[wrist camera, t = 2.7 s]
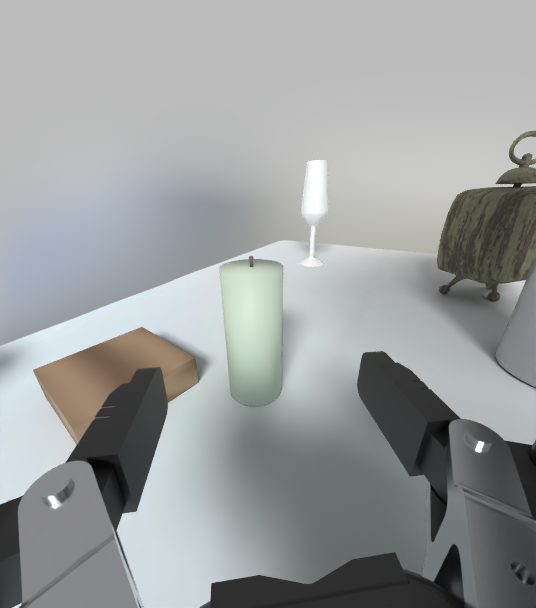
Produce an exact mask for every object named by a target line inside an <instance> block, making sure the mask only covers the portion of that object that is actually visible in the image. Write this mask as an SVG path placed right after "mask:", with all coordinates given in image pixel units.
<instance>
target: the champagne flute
mask: <svg viewBox="0 0 536 608" xmlns="http://www.w3.org/2000/svg"><path fill="white" fill-rule="evenodd" d="M327 214H328V161H325V160H314V161H307V164H306V173H305V180H304V188H303V196H302V204H301V215H302V217H303V219H304V220H305V221H306V222H307V223H308V224H309V225H310V226H311V237H310V254H309V257H308V258H306V259H304V260H303V261H301V262H299V265H301V266H306V267H319V266H323V265H324V264H323V263H322V262H321V261H319V260H318V259H316V258H315V257H314V245H315V229H316V226H317V225H318V224H319V223H320V222H321V221H323V220H324V218H325V217H326V216H327Z"/></svg>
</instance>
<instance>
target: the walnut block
mask: <svg viewBox="0 0 536 608" xmlns="http://www.w3.org/2000/svg"><path fill="white" fill-rule="evenodd" d="M152 367H160V368H161V370H162V374H163V379H164V384H165V389H166V394H167V399H168V402H170V401H171V400H173V399H174V398H176V397H177V396H179V395H180V394H182V393H183V392H185V391H186V390H188V389H189V388H191V387H192V386H194V385H195V384H197V383H198V375H197V368H196V362H195V357H194V356H192V355H190V354H188V353H187V352H185V351H183V350H181V349H180V348H178V347H176V346H174V345H173V344H171V343H169V342H167V341H166V340H164V339H162V338H160V337H159V336H157V335H155V334H153V333H152V332H150V331H148V330H146V329H145V328H143V327H141V328H138V329H136V330H133V331H130V332H128V333H125V334H123V335H120V336H118V337H115V338H113V339H110V340H108V341H105V342H103V343H100V344H98V345H95V346H92V347H90V348H87V349H85V350H82V351H80V352H77V353H75V354H72V355H70V356H67V357H65V358H62V359H60V360H57V361H54V362H52V363H49V364H47V365H44V366H42V367H39V368H37V369H34V370H33V371H34V373H35V375H36V377H37V380H38V382H39V384H40V386H41V388H42V390H43V393H44V395H45V397H46V398H47V400H48V401H49V403H50V404H51V406H52V407H53V409H54V410H55V412H56V413H57V415H58V417H59V418H60V420H61V421H62V423H63V424H64V426H65V427H66V429H67V430H68V432H69V433H70V435H71V437H72V438H73V440H74V441H75V443H76V444H78V443H79V441H80V439H81V438H82V436H83V435H84V433H85V432H86V430H87V429H88V427H89V425H90V424H91V422H92V421H93V420H94V419H95V416H96V414H97V413H98V411H99V410H100V409H101V408H102V405H103V403H104V402H105V400H106V399H107V397H108V396H109V394H110V393H112V392H113V391H114V390H115V389H116V388H117V387H119V386H120V385H121V384H124V383H129V382H130V381H131V379H132V377H133V375H134V374H135V372H136V370H137V369H139V368H152Z"/></svg>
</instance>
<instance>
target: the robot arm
mask: <svg viewBox="0 0 536 608" xmlns="http://www.w3.org/2000/svg"><path fill="white" fill-rule="evenodd" d="M496 359H497V361H498V363H499V364H500V365H501V366H502V367H503V368H504V369H505V370H507V371H508V372H509V373H511V374H512V375H514V376H515V377H517V378H518V379H520V380H522V381H524V382H526V383H528V384H530V385H532V386H534V387H536V258H535V260H534V263H533V265H532V268H531V270H530V272H529V275H528V277H527V280H526V282H525V284H524V287H523V289H522V292H521V294H520V297H519V299H518V301H517V304H516V306H515V309H514V311H513V314H512V316H511V318H510V321H509V323H508V325H507V327H506V330H505V332H504V335H503V337H502V340H501V342H500V344H499V347H498V349H497V352H496ZM357 387H358V393H359V396H360V398H361V400H362V401H363V403H364V404H365V406H366V407H367V409H368V411H369V412H370V414H371V415H372V417H373V419H374V420H375V422H376V423H377V425H378V426H379V428H380V430H381V431H382V433H383V434H384V436H385V437H386V439H387V441H388V442H389V444H390V445H391V447H392V449H393V450H394V452H395V453H396V455H397V456H398V458H399V460H400V461H401V463H402V464H403V466H404V467H405V469H406V471H407V472H408V474H409V475H410V476H418V475H425V477H426V478H427V479H428V484H427V489H426V554H425V560H424V565H423V571H422V576H421V575H419V574H416V573H413V572H410V571H407V570H403V569H402V567H401V565H400V562H399V560H398V558H397V556H396V554H395V552H394V553H388V554H382V555H377V556H371V557H365V558H359V559H353V560H351V561H349V562H348V563H346V564H344V565H343V566H341V567H340V568H338V569H336V570H335V571H333V572H331V573H330V574H328V575H326V576H325V577H323V578H321V579H320V580H318V581H316V582H315V583H312V584H303V583H297V582H292V581H287V580H282V579H277V578H272V577H266V576H261V575H257V576H252V577H246V578H240V579H234V580H228V581H222V582H216V583H212V584H211V601H209V602H208V603H206V604H204V605H203V606H201V607H200V608H536V440H535V442H534V444H533V445H527V444H521V443H516V442H510V441H504V440H503V439H502V438H501V437H500V436H499V435H498V434H497V433H495V432H494V431H493V430H491V429H490V428H488V427H486V426H484V425H482V424H480V423H477V422H474V421H471V420H466V419H460V418H459V417H458V416H457V415H456V414H455V413H454V412H453V411H452V410H451V409H450V408H449V407H448V406H447V405H446V404H445V403H444V402H443V401H442V400H441V399H440V398H439V397H438V396H437V395H436V394H435V393H434V392H433V391H432V390H431V389H428V387H427V386H426V385H425V384H424V383H423V382H422V381H420V379H419V378H418V377H417V376H416V375H415V374H414V373H413V372H412V371H411V370H410V369H408V368H406V367H404V366H403V365H401V364H399V363H395V362H394V361H393V360H392V359H391V358H390V357H389V356H388V355H387V354H386V353H385V352H383V351H379V352H365V353H363V355H362V358H361V364H360V370H359V376H358V383H357ZM167 409H168V399H167V394H166V389H165V384H164V379H163V374H162V370H161V368H160V367H152V368H139V369H137V370H136V372H135V374H134V375H133V377H132V379H131V381H130V382H129V383H124V384H121V385H120V386H119V387H117V388H116V389H115V390H114V391H113V392H112V393H110V394H109V396H108V397H107V399H106V400H105V402H104V403H103V405H102V408H101V409H100V410H99V411H98V413H97V414H96V416H95V419H94V420H93V421H92V422H91V424H90V425H89V427H88V429H87V430H86V432H85V433H84V435H83V436H82V438H81V439H80V441H79V443H78V444H77V446H76V447H75V449H74V450H73V452H72V454H71V455H70V457H69V458H68V460H67V461H66V463H64V464H62V465H59V466H57V467H55V468H53V469H52V470H50V471H48V472H47V473H45V474H44V475H42V476H41V477H40V478H39V479H38V480H36V481H35V482H34V483H33V484H32V485H31V486H30V488H29V489H28V490H27V491H26V493H25V494H24V495H23V496H21V497H19V498H16V499H13V500H11V501H8V502H6V503H3V504H0V608H12V607H14V606H16V605H18V604H20V603H22V605H21V607H19V608H144V606H143V603H142V601H141V598H140V595H139V592H138V589H137V587H136V584H135V581H134V578H133V575H132V572H131V569H130V567H129V564H128V561H127V558H126V555H125V552H124V549H123V547H122V544H121V541H120V538H119V535H118V532H117V527H118V525H119V522H120V519H121V516H122V513H129V512H136V511H137V508H138V505H139V502H140V499H141V495H142V492H143V489H144V486H145V483H146V479H147V476H148V473H149V470H150V467H151V463H152V460H153V457H154V454H155V451H156V448H157V444H158V441H159V438H160V435H161V432H162V428H163V425H164V422H165V419H166V415H167Z"/></svg>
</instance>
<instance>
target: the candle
mask: <svg viewBox="0 0 536 608" xmlns="http://www.w3.org/2000/svg"><path fill="white" fill-rule="evenodd" d="M219 270H220V282H221V293H222V304H223V315H224V326H225V337H226V349H227V360H228V371H229V382H230V392H231V395H232V397H233V398H234V399H235V400H236V401H237V402H239V403H240V404H243V405H246V406H253V407H256V406H263V405H267V404H269V403H271V402H273V401H274V400H275V399H277V397H278V396H279V395H280V393H281V390H282V326H283V265H282V264H280V263H278V262H275V261H270V260H261V259H253V256H250V257H249V259H248V260H238V261H232V262H228V263H225V264H223V265H222V266H220V268H219Z"/></svg>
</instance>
